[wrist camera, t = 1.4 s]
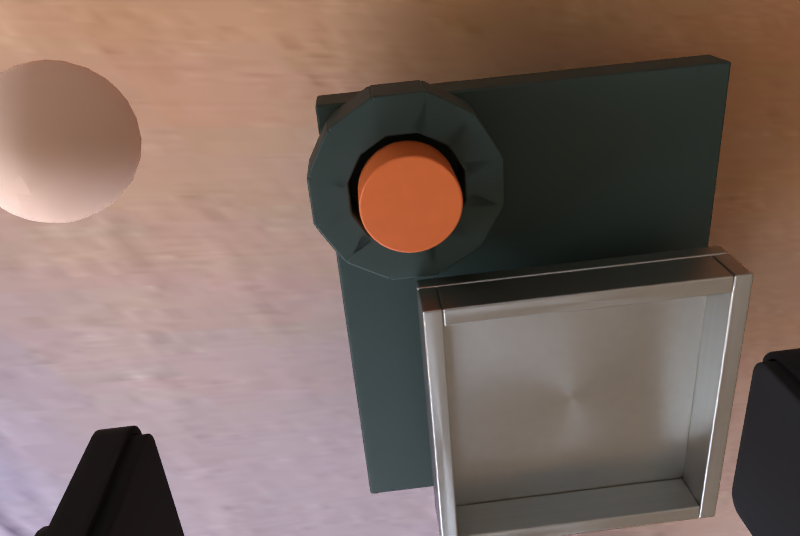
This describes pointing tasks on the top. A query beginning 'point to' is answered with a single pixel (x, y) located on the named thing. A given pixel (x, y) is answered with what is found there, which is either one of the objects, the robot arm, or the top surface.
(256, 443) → the top surface
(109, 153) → the egg
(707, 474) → the pan
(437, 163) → the button
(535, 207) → the scale
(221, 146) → the top surface
